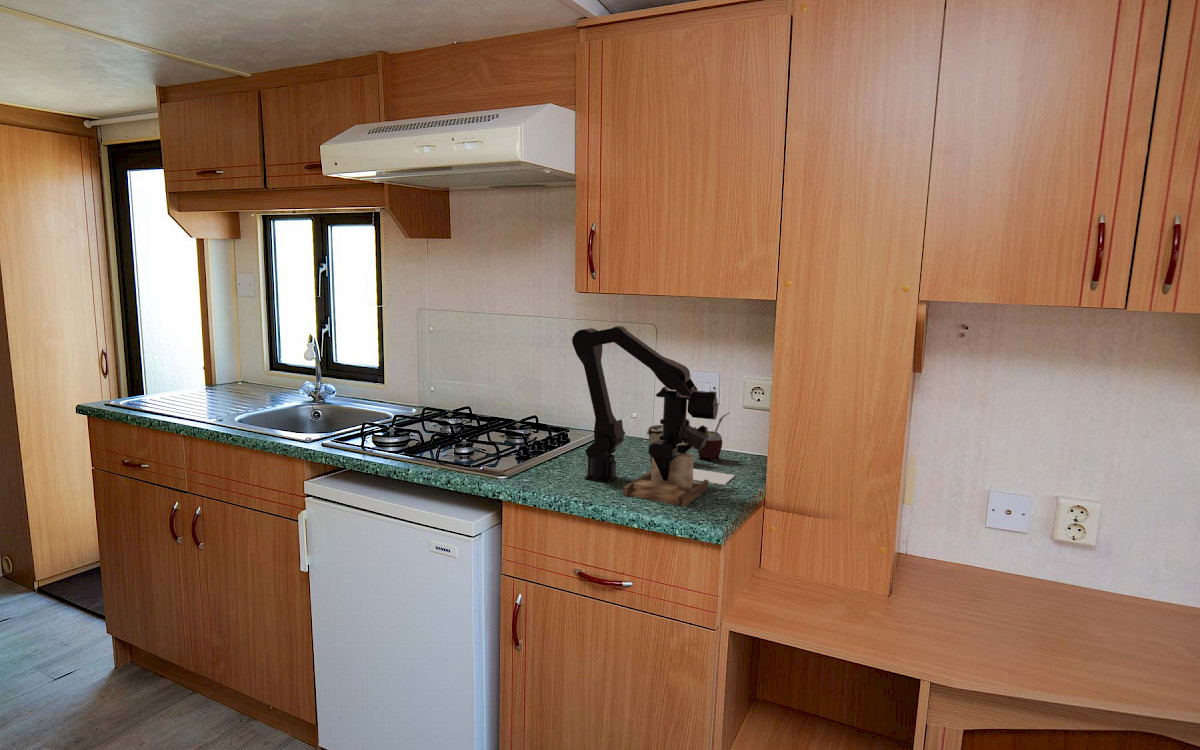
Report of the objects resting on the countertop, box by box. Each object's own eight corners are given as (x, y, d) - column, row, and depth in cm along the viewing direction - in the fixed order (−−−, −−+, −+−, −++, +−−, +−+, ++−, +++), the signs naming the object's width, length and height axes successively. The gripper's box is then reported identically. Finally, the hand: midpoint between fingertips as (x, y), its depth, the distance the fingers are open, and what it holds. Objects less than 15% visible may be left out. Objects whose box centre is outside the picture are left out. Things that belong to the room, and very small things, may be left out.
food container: (685, 458, 209) (686, 424, 207) (688, 463, 203) (690, 429, 201) (643, 457, 208) (644, 423, 207) (645, 462, 202) (646, 428, 201)
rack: (622, 495, 172) (623, 487, 172) (649, 478, 187) (650, 470, 187) (685, 506, 165) (685, 498, 165) (708, 487, 180) (708, 480, 180)
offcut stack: (628, 497, 172) (629, 483, 172) (636, 492, 176) (637, 478, 176) (679, 506, 166) (680, 492, 166) (686, 500, 171) (687, 486, 170)
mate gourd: (694, 456, 211) (696, 407, 209) (720, 456, 212) (723, 407, 210) (700, 463, 204) (703, 412, 202) (727, 463, 205) (730, 412, 202)
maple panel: (650, 486, 180) (652, 452, 179) (655, 483, 183) (656, 449, 182) (688, 492, 176) (689, 457, 175) (692, 489, 179) (694, 454, 177)
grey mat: (680, 478, 188) (680, 477, 188) (692, 469, 197) (692, 468, 197) (724, 485, 183) (724, 484, 183) (734, 476, 191) (735, 475, 191)
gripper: (693, 426, 165) (689, 491, 167) (717, 413, 182) (714, 472, 184) (648, 420, 170) (646, 483, 172) (676, 408, 186) (673, 465, 189)
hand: (671, 476), depth 179 cm, fingers open, 9 cm apart
